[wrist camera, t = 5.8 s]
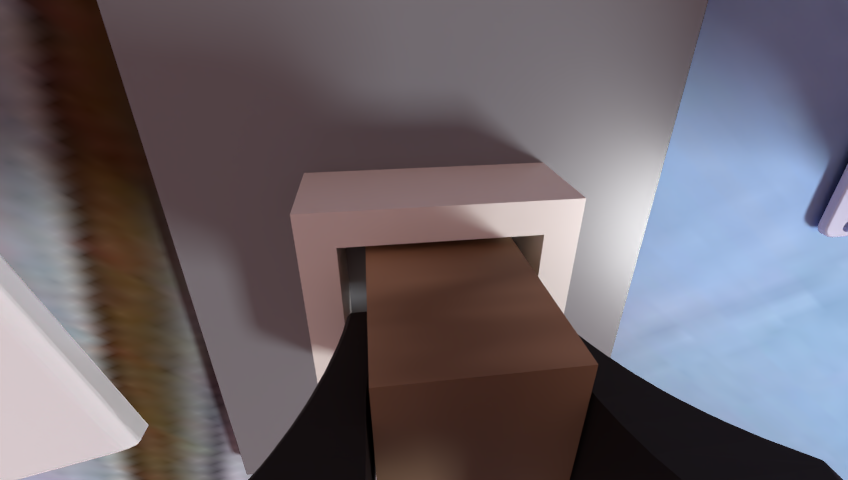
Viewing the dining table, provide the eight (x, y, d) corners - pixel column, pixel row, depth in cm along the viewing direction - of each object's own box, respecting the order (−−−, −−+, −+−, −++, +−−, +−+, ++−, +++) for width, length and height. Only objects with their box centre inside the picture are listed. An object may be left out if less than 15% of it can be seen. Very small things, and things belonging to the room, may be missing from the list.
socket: (706, -69, 12) (840, -99, 9) (581, 418, 21) (623, 493, 18) (88, -84, 10) (-45, -130, 7) (251, 458, 20) (228, 549, 16)
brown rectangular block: (499, 220, 13) (598, 364, 7) (490, 326, 15) (563, 501, 9) (364, 228, 12) (368, 388, 7) (372, 337, 14) (380, 527, 9)
